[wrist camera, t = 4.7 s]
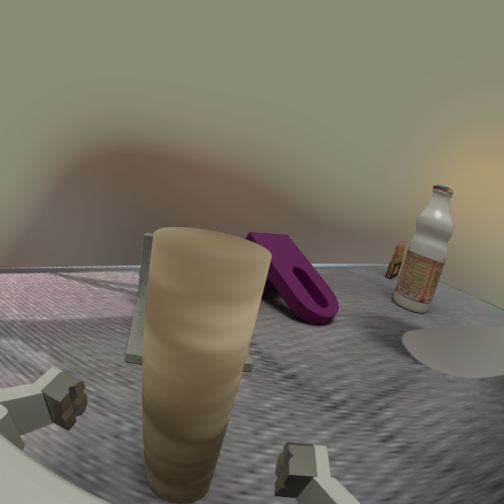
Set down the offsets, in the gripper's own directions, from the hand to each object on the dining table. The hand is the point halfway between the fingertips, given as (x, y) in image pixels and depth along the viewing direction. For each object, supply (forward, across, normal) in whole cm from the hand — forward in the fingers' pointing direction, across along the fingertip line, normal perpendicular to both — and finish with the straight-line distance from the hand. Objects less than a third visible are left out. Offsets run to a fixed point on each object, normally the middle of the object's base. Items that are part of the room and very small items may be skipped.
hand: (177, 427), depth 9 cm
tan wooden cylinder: (+2, 0, +8) cm, 9 cm away
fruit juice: (+50, -38, +9) cm, 63 cm away
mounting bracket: (+38, -7, +9) cm, 39 cm away
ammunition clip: (+78, -45, +9) cm, 90 cm away
